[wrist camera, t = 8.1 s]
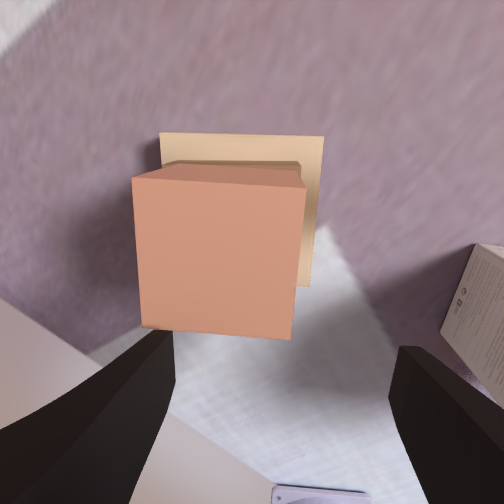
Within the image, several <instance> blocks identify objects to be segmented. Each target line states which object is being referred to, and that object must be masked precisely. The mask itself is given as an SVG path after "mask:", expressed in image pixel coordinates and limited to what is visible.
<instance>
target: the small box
mask: <svg viewBox="0 0 504 504" xmlns="http://www.w3.org/2000/svg"><path fill="white" fill-rule="evenodd" d="M440 333H441V335H442V336H443V337H444V339H445V340H446V341H447V342H448V344H449V345H450V346H451V347H452V348H453V350H454V351H455V352H456V353H457V354H458V356H459V357H460V358H461V359H462V360H463V362H464V363H465V364H466V365H467V366H468V368H469V369H470V370H471V371H472V373H473V374H474V375H475V376H476V377H477V379H478V380H479V381H480V382H481V384H482V385H483V386H484V387H485V388H486V390H487V391H488V392H489V393H490V394H491V396H492V397H493V398H494V399H495V400H496V402H497V403H498V404H499V405H500V406H501V408H503V409H504V247H502V246H495V245H487V244H480V243H479V244H476V245H475V246H474V249H473V251H472V254H471V256H470V258H469V261H468V263H467V266H466V268H465V270H464V273H463V276H462V278H461V280H460V283H459V285H458V288H457V290H456V293H455V295H454V298H453V300H452V303H451V305H450V308H449V310H448V313H447V315H446V318H445V320H444V323H443V325H442V328H441V331H440Z"/></svg>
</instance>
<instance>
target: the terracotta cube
mask: <svg viewBox="0 0 504 504" xmlns="http://www.w3.org/2000/svg"><path fill="white" fill-rule="evenodd" d="M131 179H132V193H133V207H134V221H135V235H136V249H137V263H138V277H139V291H140V305H141V319H142V328H150V329H162V330H174V331H186V332H198V333H210V334H222V335H233V336H245V337H257V338H269V339H281V340H290V339H291V330H292V321H293V311H294V302H295V293H296V284H297V275H298V265H299V256H300V247H301V238H302V229H303V219H304V210H305V201H306V192H307V188H306V186H305V184H304V183H303V181H302V179H301V178H300V176H299V174H298V173H297V171H296V170H282V169H265V168H248V167H232V166H215V165H199V164H182V163H179V164H176V165H172V166H169V167H165V168H162V169H158V170H155V171H151V172H148V173H144V174H141V175H138V176H134V177H131Z"/></svg>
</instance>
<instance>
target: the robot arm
mask: <svg viewBox="0 0 504 504" xmlns="http://www.w3.org/2000/svg"><path fill="white" fill-rule="evenodd" d="M175 382H176V379H175V363H174V347H173V331H168V330H153V331H151V332H150V333H149V334H147V335H146V336H145V337H143V338H142V339H141V340H140V341H138V342H137V343H136V344H134V345H133V346H132V347H131V348H129V349H128V350H127V351H125V352H124V353H123V354H121V355H120V356H119V357H117V358H116V359H115V360H113V361H112V362H111V363H109V364H108V365H107V366H105V367H104V368H103V369H101V370H100V371H98V372H97V373H95V374H94V375H92V376H91V377H90V378H88V379H87V380H85V381H84V382H82V383H81V384H79V385H78V386H76V387H75V388H73V389H72V390H70V391H69V392H67V393H66V394H64V395H62V396H61V397H59V398H57V399H56V400H54V401H52V402H51V403H49V404H47V405H46V406H44V407H42V408H40V409H39V410H37V411H35V412H33V413H32V414H30V415H28V416H26V417H24V418H22V419H20V420H18V421H16V422H14V423H12V424H10V425H8V426H6V427H4V428H2V429H1V430H0V504H129V501H130V499H131V496H132V494H133V491H134V488H135V486H136V484H137V481H138V479H139V476H140V474H141V472H142V470H143V467H144V465H145V463H146V460H147V458H148V455H149V453H150V451H151V448H152V446H153V444H154V441H155V439H156V437H157V434H158V432H159V430H160V427H161V425H162V423H163V420H164V418H165V415H166V413H167V410H168V407H169V403H170V400H171V397H172V393H173V389H174V386H175ZM388 398H389V402H390V406H391V410H392V413H393V417H394V420H395V423H396V427H397V430H398V432H399V435H400V437H401V440H402V442H403V445H404V447H405V449H406V452H407V454H408V456H409V459H410V461H411V463H412V466H413V468H414V470H415V473H416V475H417V477H418V480H419V482H420V484H421V487H422V489H423V491H424V494H425V496H426V498H427V501H428V503H429V504H504V409H503V408H501V407H500V406H499V405H497V404H496V403H495V402H493V401H492V400H490V399H489V398H488V397H486V396H485V395H484V394H482V393H481V392H479V391H478V390H477V389H475V388H474V387H473V386H472V385H470V384H469V383H468V382H466V381H465V380H464V379H462V378H461V377H460V376H458V375H457V374H456V373H454V372H453V371H452V370H451V369H449V368H448V367H447V366H445V365H444V364H443V363H441V362H440V361H439V360H437V359H436V358H435V357H434V356H432V355H431V354H429V353H428V352H427V351H425V350H424V349H422V348H421V347H414V346H400V347H399V351H398V356H397V360H396V365H395V369H394V373H393V378H392V382H391V387H390V391H389V396H388ZM271 504H372V499H371V496H370V495H369V494H366V493H356V492H345V491H334V490H323V489H312V488H301V487H290V486H274V487H273V488H272V497H271Z"/></svg>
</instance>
